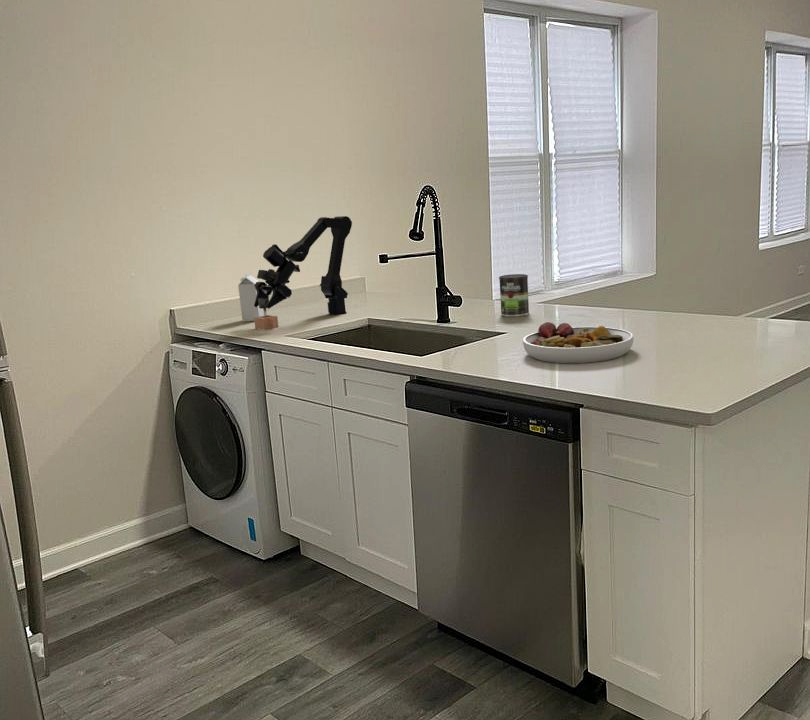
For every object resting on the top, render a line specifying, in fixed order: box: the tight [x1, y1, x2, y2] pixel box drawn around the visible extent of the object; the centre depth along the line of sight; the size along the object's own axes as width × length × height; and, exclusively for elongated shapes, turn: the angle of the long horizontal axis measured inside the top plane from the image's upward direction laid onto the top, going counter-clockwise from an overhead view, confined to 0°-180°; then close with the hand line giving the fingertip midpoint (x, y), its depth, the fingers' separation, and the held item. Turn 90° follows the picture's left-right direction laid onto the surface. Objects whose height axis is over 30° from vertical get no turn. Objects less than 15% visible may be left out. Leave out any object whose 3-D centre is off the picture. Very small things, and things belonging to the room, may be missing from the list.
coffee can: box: [498, 273, 530, 318], centre depth 304 cm, size 10×10×14 cm
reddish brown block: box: [253, 314, 279, 330], centre depth 320 cm, size 6×9×4 cm
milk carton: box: [237, 272, 264, 323], centre depth 341 cm, size 7×7×19 cm
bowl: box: [522, 321, 634, 364], centre depth 234 cm, size 30×30×8 cm
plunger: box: [258, 297, 270, 318], centre depth 320 cm, size 4×4×10 cm
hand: (261, 307), depth 319 cm, fingers open, 9 cm apart
